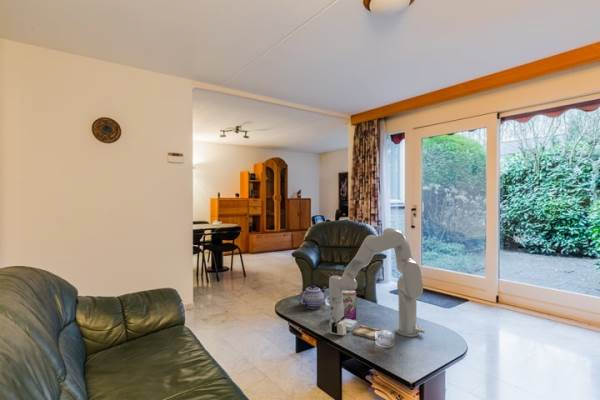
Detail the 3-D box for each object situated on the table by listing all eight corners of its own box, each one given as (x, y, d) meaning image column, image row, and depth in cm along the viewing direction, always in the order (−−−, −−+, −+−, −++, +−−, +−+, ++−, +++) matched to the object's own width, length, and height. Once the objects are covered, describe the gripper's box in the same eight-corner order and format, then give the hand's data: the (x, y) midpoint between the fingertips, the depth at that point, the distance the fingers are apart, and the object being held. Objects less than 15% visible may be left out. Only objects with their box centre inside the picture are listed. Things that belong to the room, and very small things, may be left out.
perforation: (348, 332, 168) (348, 332, 168) (348, 332, 168) (348, 332, 168) (336, 329, 172) (336, 329, 172) (336, 329, 172) (336, 329, 172)
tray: (382, 333, 167) (382, 330, 167) (376, 340, 159) (376, 337, 159) (359, 327, 175) (359, 324, 175) (353, 333, 167) (353, 330, 167)
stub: (346, 332, 166) (345, 321, 167) (343, 335, 163) (341, 324, 163) (333, 330, 171) (332, 319, 171) (330, 333, 167) (329, 322, 168)
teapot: (304, 314, 195) (304, 291, 195) (292, 307, 208) (291, 285, 207) (334, 305, 209) (333, 284, 209) (320, 299, 222) (320, 279, 221)
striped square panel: (357, 325, 178) (357, 321, 178) (350, 331, 170) (350, 327, 170) (345, 322, 182) (345, 318, 182) (338, 328, 174) (338, 323, 174)
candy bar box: (338, 318, 187) (338, 292, 187) (338, 315, 192) (338, 290, 192) (356, 319, 186) (356, 293, 186) (356, 316, 191) (355, 290, 191)
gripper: (335, 304, 158) (335, 338, 159) (348, 295, 172) (348, 326, 172) (322, 301, 162) (323, 335, 163) (336, 293, 176) (337, 323, 177)
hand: (336, 330), depth 168 cm, fingers closed on stub, 3 cm apart
